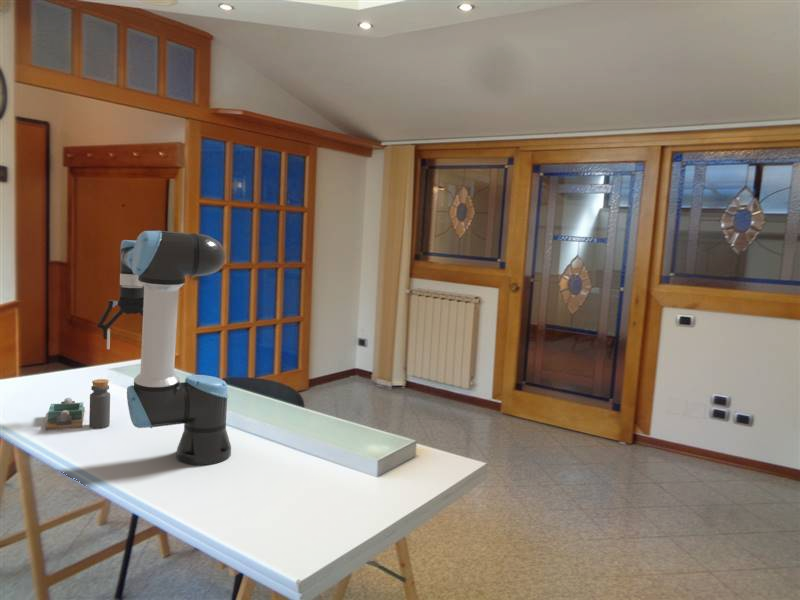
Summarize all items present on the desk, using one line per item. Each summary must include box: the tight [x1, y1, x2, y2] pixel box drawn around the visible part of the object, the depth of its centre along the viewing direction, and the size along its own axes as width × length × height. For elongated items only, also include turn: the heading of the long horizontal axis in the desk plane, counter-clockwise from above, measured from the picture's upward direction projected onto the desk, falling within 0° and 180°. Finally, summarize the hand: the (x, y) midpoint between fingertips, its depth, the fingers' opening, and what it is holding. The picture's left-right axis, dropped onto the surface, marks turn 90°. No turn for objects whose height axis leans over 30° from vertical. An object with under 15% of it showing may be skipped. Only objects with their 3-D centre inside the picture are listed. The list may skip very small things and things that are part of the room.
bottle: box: [88, 378, 111, 430], centre depth 188 cm, size 6×6×15 cm
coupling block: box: [44, 397, 86, 431], centre depth 192 cm, size 19×10×5 cm, turn 26°
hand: (130, 348), depth 199 cm, fingers open, 13 cm apart
